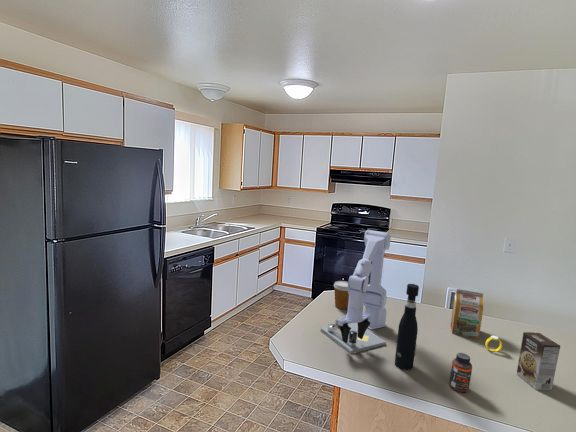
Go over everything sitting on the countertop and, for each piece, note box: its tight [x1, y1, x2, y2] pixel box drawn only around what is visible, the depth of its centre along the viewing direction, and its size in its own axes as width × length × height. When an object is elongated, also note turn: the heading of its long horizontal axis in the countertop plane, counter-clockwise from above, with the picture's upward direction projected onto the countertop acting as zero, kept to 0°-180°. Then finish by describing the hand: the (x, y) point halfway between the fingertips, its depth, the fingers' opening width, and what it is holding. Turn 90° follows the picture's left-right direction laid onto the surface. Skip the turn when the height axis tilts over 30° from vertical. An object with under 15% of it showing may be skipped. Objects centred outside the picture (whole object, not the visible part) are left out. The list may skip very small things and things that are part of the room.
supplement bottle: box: [448, 352, 473, 393], centre depth 114 cm, size 6×6×11 cm
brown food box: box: [516, 331, 561, 391], centre depth 120 cm, size 9×6×16 cm
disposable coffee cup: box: [333, 280, 349, 310], centre depth 176 cm, size 10×10×12 cm
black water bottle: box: [394, 283, 420, 371], centre depth 124 cm, size 6×6×30 cm
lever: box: [327, 323, 357, 347], centre depth 141 cm, size 16×4×5 cm, turn 29°
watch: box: [484, 335, 503, 353], centre depth 141 cm, size 6×3×6 cm, turn 86°
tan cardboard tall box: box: [450, 288, 484, 340], centre depth 156 cm, size 11×11×19 cm
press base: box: [320, 319, 387, 355], centre depth 145 cm, size 18×20×4 cm
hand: (352, 339), depth 136 cm, fingers open, 7 cm apart
